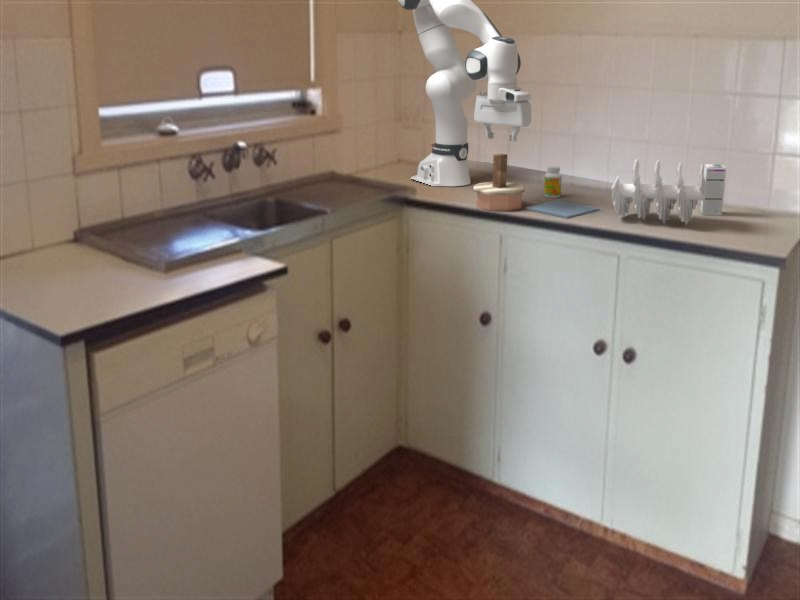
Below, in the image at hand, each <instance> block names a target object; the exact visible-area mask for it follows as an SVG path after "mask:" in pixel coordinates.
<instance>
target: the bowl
mask: <svg viewBox="0 0 800 600" xmlns="http://www.w3.org/2000/svg"><path fill="white" fill-rule="evenodd" d="M522 195H523V193H520V194H515V195H488V194H482V193H478V192H476V208H479V209H482V210H486V211H496V212H497V211H498V212H499V211H503V212H504V211H505V212H506V211H507V212H508V211H514V210H519V209H522V201H523V200H522V197H523V196H522Z"/></svg>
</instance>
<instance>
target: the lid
mask: <svg viewBox="0 0 800 600" xmlns="http://www.w3.org/2000/svg"><path fill="white" fill-rule="evenodd" d="M492 159H493V162H492V163H493V164H492V181H486V182H485V181H484V182H479V183H475V184H474V185H473V191H474V192H476V193H477V192H478V193H482V194H488V195H515V194H520V193H522V194H523V193H525V192H526V186H525V185H523V184H521V183H515V182H508V181H507V178H508V173H507V172H508V154H507V153H506V154H505V153H495V154H493V158H492Z"/></svg>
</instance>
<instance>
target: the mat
mask: <svg viewBox="0 0 800 600" xmlns="http://www.w3.org/2000/svg"><path fill="white" fill-rule="evenodd" d="M600 209H601V208H600V207H595V206H591V205H590V206H589V205H583V204H580V203H579V204H578V203H574V202H570V201H564V200H558V199H557V200H552V201H548V202H544V203H540V204H536V205H529V206H526V207H524V210H526V211H529V212H535V213H540V214H544V215H550V216H553V215H555V217H558V216H559V218H563V217H564V218H563V219H571V218H575V217H579V216H581V215H586V214H590V213H593V212H598V211H600ZM570 217H571V218H570Z"/></svg>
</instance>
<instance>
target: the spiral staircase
mask: <svg viewBox="0 0 800 600" xmlns="http://www.w3.org/2000/svg"><path fill="white" fill-rule="evenodd" d="M639 163H640V159H639V158H636V159H635V160H634V162H633V167H632V181H631V183H621V180H620V175H617V176H616V177H615V180H614V181H613V184H612V186H611V187H610V189H611V191H610V192H611V202H613V203H612V205H613V209H614V212H616V215H617V216H621V219H624V217H625V215H626V214H629V211H630V206H631V203H632V205H634V211H635V214H636V215H637V218H638V219H641V218H642V220H643V221H645V219H646V217H647V215H649V214H650V209H651V204H652V203H653V202H654V203H655V204H656V205H655V207H656V208H655V209H656V215H658V219H659V220H660V221H662V224H666V221H669V220H670V217H671V211H672V210H674V208H675V205H676V207H678V209H677V211H678V217H679V219H680V218H681V219H680V222H682V223H684V225H685V226H688V223H689V221H692V217H693V210H696V206H698V204H699V201H700V202H701V201H704V197H705V179H704V166H705V164H704V163H702V164H700V167H699V173H698V179H697V183H696V185H685V182H684V178H683V176H682V175H683V171H682V170H683V163H682V162H679V163H678V165H677V171H676V180H675V184H663V178H662V176H661V173H660V168H661V165H660V159H657V160H656V162H655V165H654V170H653V177H654V178H653V181H652V184H647V183H646V184H644V183H641V175H640V172H639V171H640V164H639Z"/></svg>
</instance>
